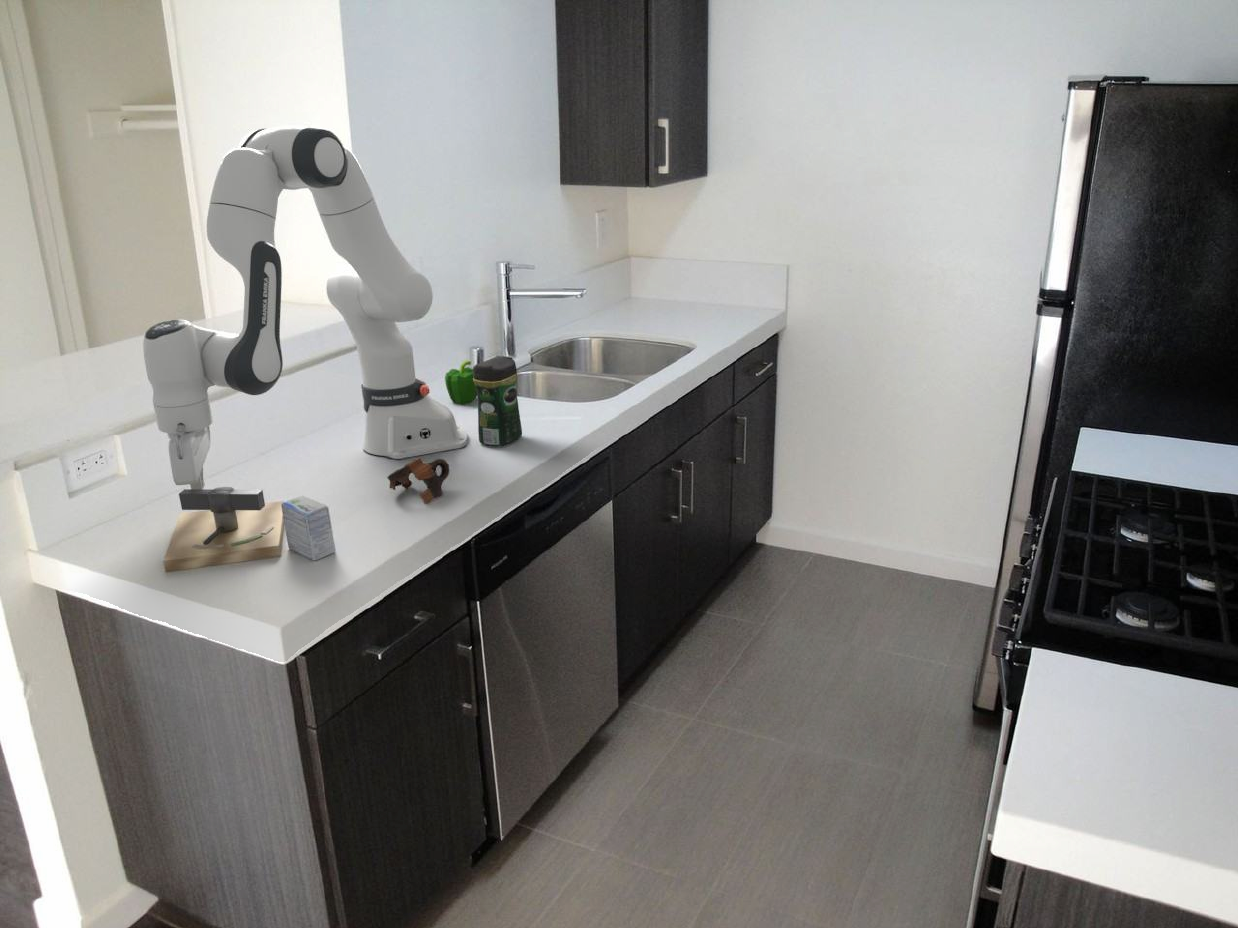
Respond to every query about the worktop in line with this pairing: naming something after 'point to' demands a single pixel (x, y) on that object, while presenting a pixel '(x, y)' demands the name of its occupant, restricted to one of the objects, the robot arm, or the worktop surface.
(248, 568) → the worktop surface
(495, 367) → the coffee jar
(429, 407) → the robot arm
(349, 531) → the worktop surface
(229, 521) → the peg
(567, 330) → the worktop surface
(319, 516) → the medicine box
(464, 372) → the bell pepper
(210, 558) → the tuner board
